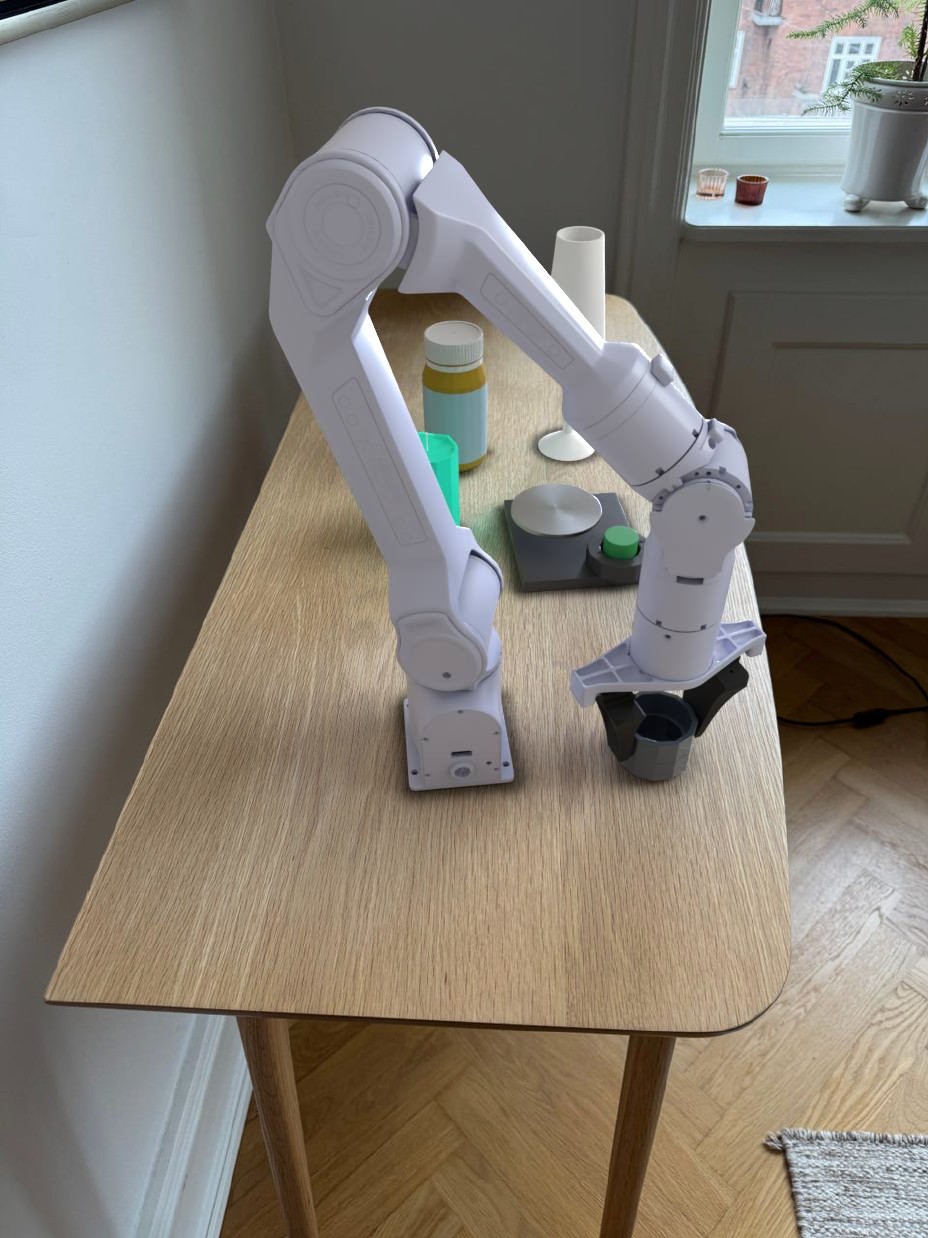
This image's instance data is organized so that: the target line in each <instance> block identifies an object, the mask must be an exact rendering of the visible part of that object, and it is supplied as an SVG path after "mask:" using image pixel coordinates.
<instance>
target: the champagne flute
mask: <svg viewBox="0 0 928 1238" xmlns="http://www.w3.org/2000/svg"><path fill="white" fill-rule="evenodd" d="M605 245H606V244H605V232H604V231H603V230H601V229H599V228H597V227H592V226H585V225H576V226H567V227H563V228H561V229H559V230H558V231H556V237H555V244H554V252H553V258H552V264H551V265H552V267H551V274H550V277H551V278H552V279H553V280H554V282H555V283H556V284H557V285H558V287H559V288H560V289H561V290H562V291H563V293H564V294H565V295H566V296H567V297H568V299H569V300H570V301H571V302H572V303H573V305H574V306H575V307H576V308H577V309H578V311H579V312H580V313H581V314H582V315H583V317H584V318H585V319H586V320H587V322H588V323H589V324H590V325H591V326H592V328H593V329H594V330H595V331H596V332H597V334H598V335H599V336H600V337H601V338H602V340H604V341H606V270H605V269H606V267H605V266H606V265H605V263H606V261H605V260H606V259H605V253H606V252H605V251H606V250H605V249H606V248H605ZM562 419H563V418H562ZM537 447H538V450H539V451H540V453H542V455H544V456H545V457H548V458H550V459H552V460H556V461H563V462H574V461H575V462H576V461H581V460H584V459H586V458H588V457H590V456H591V455H593V454H594V452H596V451H595V450H594V449H593V448H592V447H591V446H590V445H589V444H588V443H587V442H586V441H585V440H584V439H583V438H582V437H581V436H580V435H579V434H578V433H577V432H576V431H575V430H574V429H573V428H572V427H571V426H570V425H569V424H568V423H567V422H566V421H565V420H564V419H563V420H562V430H557V431H554V432H551V433H548V434H546V435H543V437H541V438H540V439H539V441H538V443H537Z"/></svg>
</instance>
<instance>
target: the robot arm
mask: <svg viewBox="0 0 928 1238" xmlns="http://www.w3.org/2000/svg"><path fill="white" fill-rule="evenodd" d="M265 229H266V231H267V234H268V236H269V238H270V240H271V243H272V246H271V262H270V263H271V265H270V283H269V284H270V285H269V303H268V319H269V321H270V325H271V328H272V331H273V333H274V335H275V337H276V340H277V342H278V343H279V345H280V348H281V350H282V352H283V355H284V356H285V359H286V360H287V362H288V364H289V367H290V368H291V370H292V373H293V374H294V377H295V379H296V381H297V383H298V385H299V387H300V389H301V391H302V393H303V395H304V397H305V399H306V401H307V403H308V405H309V408H310V410H311V411H312V414H313V416H314V418H315V420H316V422H317V424H318V426H319V428H320V430H321V432H322V434H323V437H324V438H325V440H326V442H327V444H328V447H329V449H330V451H331V453H332V455H333V457H334V459H335V462H336V463H337V465H338V467H339V469H340V471H341V474H342V476H343V478H344V480H345V482H346V485H347V486H348V488H349V490H350V492H351V494H352V496H353V498H354V500H355V502H356V504H357V506H358V509H359V511H360V512H361V516H362V517H363V519H364V521H365V523H366V525H367V527H368V530H369V531H370V533H371V536H372V537H373V540H374V541H375V544H376V546H377V548H378V551H379V552H380V554H381V556H382V558H383V560H384V563H385V565H386V567H387V574H388V575H387V582H388V584H387V585H388V586H387V587H388V615H389V620H390V622H391V624H392V626H393V628H394V630H395V634H396V644H395V645H396V646H395V654H396V655H395V657H396V660H397V663H398V665H399V667H400V669H401V670H402V671H403V672H404V674H405V682H406V694H407V697H406V698H404V699H403V703H402V704H403V717H404V727H405V728H404V730H405V746H406V759H407V760H406V761H407V775H408V786H409V789H410V790H411V791H413V792H417V791H427V790H428V791H429V790H439V789H449V788H461V787H462V788H463V787H472V786H485V785H493V784H494V785H495V784H505V783H511V782H513V781H514V779H515V771H514V770H515V769H514V765H513V760H512V755H511V749H510V744H509V743H510V742H509V738H508V732H507V727H506V721H505V715H504V711H503V704H502V679H503V677H502V674H503V673H502V672H503V644H502V641H501V638H500V637H499V634H498V632H497V630H496V628H495V626H494V622H495V617H496V613H497V609H498V603H499V601H500V598H501V596H502V593H503V591H504V583H505V582H504V577H503V573H502V570H501V568H500V567H499V565H498V563H497V562H496V561H495V560H494V559H493V558H492V557H491V556H490V555H489V554H488V553H486V552H485V551H484V550H483V549H482V548H481V546H480V545H479V543H478V542H477V540H476V538H475V535H474V533H473V531H472V529H471V528H469V527H467V526H461V525H460V526H456V525H455V522H454V520H453V518H452V515H451V513H450V510H449V508H448V506H447V503H446V501H445V498H444V496H443V493H442V491H441V489H440V486H439V484H438V481H437V479H436V477H435V474H434V472H433V469H432V467H431V465H430V462H429V460H428V457H427V455H426V452H425V450H424V448H423V445H422V443H421V440H420V438H419V436H418V433H417V432H418V431H417V428H416V426H415V423H414V422H413V419H412V415H411V414H410V412H409V409H408V407H407V403H406V402H405V399H404V397H403V394H402V392H401V389H400V387H399V385H398V383H397V380H396V377H395V375H394V373H393V371H392V368H391V365H390V363H389V361H388V359H387V358H388V357H387V356H386V353H385V351H384V349H383V346H382V344H381V342H380V339H379V337H378V335H377V332H376V329H375V327H374V324H373V322H372V320H371V316H370V315H369V307H370V305H371V302H372V300H373V298H374V296H375V294H376V292H377V290H378V288H379V286H380V285H381V284H382V283H383V281H385V280H386V279H387V278H388V277H389V276H390V275H391V274H392V273H393V272H394V270H395V269H396V268H400V269H403V270H405V271H406V272H405V273H404V276H403V277H402V280H401V282H400V284H399V287H398V288H397V292H399V293H401V294H406V295H409V294H411V295H412V294H413V295H414V294H438V293H439V294H441V293H456V294H458V295H461V296H462V297H463V298H464V299H465V300H466V301H468V302H469V303H470V304H471V305H472V306H473V307H474V308H475V309H476V310H477V311H479V313H481V314H482V315H483V316H484V317H485V318H486V319H487V320H488V321H489V322H490V323H492V324H493V325H494V326H495V327H496V328H497V329H498V330H499V331H500V332H501V333H502V334H503V335H505V337H507V338H508V340H510V341H511V342H512V343H513V344H514V345H516V346H517V348H519V349H520V350H521V352H523V353H524V354H525V355H526V356H528V357H529V358H530V359H531V360H532V362H534V363H535V364H536V365H537V366H538V367H539V368H541V369H542V370H543V371H544V373H546V374H547V375H548V376H549V377H550V378H551V379H553V381H554V382H555V383H557V384H558V385H559V386H560V387H561V389H562V398H561V415H562V419H564V420H565V421H566V422H567V423H568V424H569V425H570V426H571V427H572V428H573V431H575V432H577V433H578V434H579V435H580V436H581V437H582V438H583V439H584V440H585V441H586V442H587V443H588V444H589V445H590V446H591V447H592V448H593V449H594V450H595V451H594V452H595V453H596V454H597V455H598V456H599V457H600V458H601V459H602V460H603V461H604V462H605V463H606V464H607V465H608V466H609V467H610V468H611V469H612V470H613V471H614V472H615V473H616V474H617V475H618V476H619V477H620V478H621V479H622V480H623V481H624V482H625V483H626V484H627V485H628V486H629V487H630V488H631V489H632V490H633V491H634V492H636V493H637V494H638V495H639V496H641V497H642V498H644V499H645V500H646V501H648V502H649V503H651V511H650V512H649V515H648V516H649V517H648V519H649V524H650V528H649V529H650V530H649V533H648V535H647V537H646V538H647V539H646V542H645V544H644V550H643V558H642V565H641V572H640V579H639V583H638V586H637V587H638V588H637V594H636V601H635V607H634V614H633V621H632V624H631V635H629V636H628V637H627V638H625V639H624V640H622V641H620V642H619V643H618V644H616V645H615V646H613V647H612V648H610V649H608V650H607V651H605V652H604V653H603V654H601V655H599V657H597V658H595V659H594V660H592V661H590V662H588V663H587V664H584V665H583V666H579V667H577V668H574V669H571V672H570V680H569V681H570V683H569V690H570V693H571V694H572V695H573V697H574V699H575V700H576V701H577V703H578V704H579V706H580V707H581V708H582V709H584V708H589V707H591V706H593V705H595V704H597V708H598V709H599V712H600V715H601V718H602V721H603V725H604V730H605V733H606V736H605V737H606V741H607V743H606V744H607V746H608V748H609V749H610V751H611V752H612V754H613V755H614V756H615V757H614V758H616V760H617V762H619V763H620V762H622V761H626V760H628V758H629V757H630V754H631V750H632V745H633V739H634V736H635V733H636V731H637V729H638V727H639V725H640V724H641V722H642V721H643V720H644V719H645V718H646V717H647V716H646V714H645V713H644V712H643V710H642V709H641V708H640V706H639V705H638V703H637V702H636V701H635V697H636V695H635V694H636V693H635V692H639V691H665V692H676V691H677V692H678V691H680V692H681V691H682V697H681V698H682V699H683V700H685V701H686V702H687V703H688V704H690V705H691V706H692V707H693V710H694V712H695V715H696V717H697V720H698V725H697V729H696V733H695V738H694V739H697V738H700V737H702V735H703V734H704V733H705V731H706V730H707V728H708V727H709V725H710V724H711V722H712V721H713V720H714V718H715V717H716V715H717V714H718V713H719V712H720V710H721V709H722V708H723V706H725V704H726V703H727V702H728V701H729V700H731V699H732V698H733V697H734V696H735V695H736V694H738V693H739V692H741V691H742V690H744V689H745V688H747V687H748V684H749V679H750V674H749V671H748V670H747V669H746V668H745V666H744V665H743V664H742V663H741V662H740V661H741V657H742V656H741V655H743V654H745V655H746V656H747V657H749V658H754V657H757V656H761V655H762V654H763V650H764V647H765V643H766V640H767V634H766V633H765V632H764V630H763V629H761V627H759V625H758V624H757V623H756V622H755V621H754V620H753V619H752V618H747V619H744V620H738V621H730V622H722V619H723V614H724V611H725V607H726V602H727V598H728V594H729V588H730V584H731V580H732V575H733V570H734V566H735V562H736V551H735V550H736V548H737V547H738V546H740V545H741V544H742V543H743V542H744V541H745V540H746V539H747V538H748V537H749V535H750V534H751V532H752V530H753V528H754V526H755V524H756V519H755V518H753V510H754V504H753V495H752V486H751V479H750V471H749V463H748V458H747V457H748V456H747V455H746V451H745V449H744V446H743V444H742V442H741V440H740V439H739V438H738V437H737V432H736V430H735V428H733V427H731V426H729V425H728V424H726V423H723V422H721V421H718V420H717V419H716V418H715V417H714V418H711V419H706V418H705V417H704V416H703V415H702V414H701V413H700V412H699V411H698V410H697V409H696V407H694V405H693V404H692V403H691V402H690V401H689V400H688V399H687V397H686V396H685V395H684V394H683V393H682V392H681V391H680V390H679V389H678V388H677V387H676V385H675V384H674V383H673V382H674V381H675V372H674V371H675V368H674V365H672V363H671V362H670V361H669V360H667V358H666V357H665V356H664V355H663V354H662V353H658V354H657V355H656V356H654V357H653V358H652V359H651V357H649V355H647V354H646V352H645V351H644V350H643V349H642V348H641V347H640V345H639V344H637V343H633V342H632V343H631V342H621V341H606V340H605V341H604V340H602V338H601V337H600V336H599V335H598V334H597V332H596V331H595V330H594V329H593V328H592V326H591V325H590V324H589V323H588V322H587V320H586V319H585V318H584V317H583V315H582V314H581V313H580V312H579V311H578V309H577V308H576V307H575V306H574V305H573V303H572V302H571V301H570V300H569V299H568V297H567V296H566V295H565V294H564V293H563V291H562V290H561V289H560V288H559V287H558V285H557V284H556V283H555V282H554V280H553V279H552V278H551V275H550V274H549V273H548V272H547V271H546V269H545V268H544V267H543V266H542V265H541V263H540V262H539V260H537V259H536V257H535V256H534V255H533V254H532V253H531V251H530V250H529V249H528V248H527V246H526V245H525V243H523V241H521V239H520V238H519V237H518V235H516V233H515V232H514V231H513V230H512V229H511V227H510V226H509V225H508V224H507V223H506V221H505V220H504V219H503V217H501V215H500V214H499V213H498V212H497V210H496V209H495V208H494V206H493V205H492V204H491V203H490V201H489V200H488V199H487V198H486V196H485V195H484V194H483V192H482V191H481V189H480V188H479V186H478V185H477V183H476V182H475V181H474V179H473V178H472V177H471V176H470V174H469V172H468V171H467V170H466V169H465V167H464V166H463V164H462V163H460V162H459V161H458V160H457V159H456V158H454V157H453V156H452V155H451V154H449V153H448V152H447V151H445V150H444V149H442V150H441V152H440V153H439V154H438V150H437V148H436V146H435V144H434V142H433V139H432V138H431V136H430V135H429V133H428V132H427V130H426V129H425V128H424V127H423V126H422V125H421V124H420V123H419V122H418V121H417V120H416V119H414V118H413V117H412V116H410V115H409V114H407V113H405V112H404V111H401V110H398V109H395V108H391V107H387V106H371V107H366V108H364V109H360V110H358V111H356V112H354V113H353V114H351V115H350V116H349V117H347V118H346V119H344V121H343V122H342V123H341V125H339V127H338V128H337V130H336V131H335V133H334V134H333V136H331V138H329V139H328V140H327V141H326V143H324V144H323V145H322V146H321V147H320V148H319V149H318V150H317V152H315V153H313V154H312V155H310V156H309V157H307V158H306V159H304V160H303V161H302V162H300V163H299V164H298V165H297V166H296V167H295V169H294V170H293V171H291V174H290V175H289V176H288V179H287V180H286V182H285V184H284V187H283V188H282V190H281V192H280V194H279V196H278V198H277V200H276V202H275V204H274V206H273V208H272V210H271V212H270V214H269V216H268V218H267V220H266V223H265Z"/></svg>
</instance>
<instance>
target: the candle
mask: <svg viewBox="0 0 928 1238" xmlns="http://www.w3.org/2000/svg"><path fill="white" fill-rule="evenodd" d="M417 433H418V436H419V438H420V440H421V443H422V445H423V448H424V450H425V452H426V455H427V457H428V460H429V462H430V465H431V467H432V469H433V472H434V474H435V477H436V479H437V481H438V484H439V486H440V489H441V491H442V493H443V496H444V498H445V501H446V503H447V506H448V508H449V510H450V513H451V515H452V518H453V520H454V522H455V525H456V526H460V527H461V515H460V513H461V509H460V471H459V466H458V446H457V444H456V443H455V442H454V441H453V439H452V438H451V437H450V436H449V435H443V434H432V433H427V432H426V433H425V431H417Z"/></svg>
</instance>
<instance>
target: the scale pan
mask: <svg viewBox="0 0 928 1238" xmlns="http://www.w3.org/2000/svg"><path fill="white" fill-rule="evenodd" d="M592 494H593V493H591V492H589V491H587V490H585V489H584V488H581V487H579V486H576V485H575V486H574V485H570V484H564V483H543V484H537V485H534V486H531V487H528V488H526V489H524V490H522V491H520V492H519V493H518V494H517V495H516V496H515V497H514V498H513V499H512V500H513V502H512V505H511V515H512V518H513V520H514V521H515V523H516V524H517V525H518V526H519V527H520V528H522V529H523V530H525V531H527V532H529V533H531V534H534V535H537V536H540V537H545V538H554V539H563V538H572V537H576V536H580V535H583V534H585V533H587V532H589V531H591V530H592V529H593V528H595V527H596V526H597V524H598V523H599V521H600V519H601V515H602V508H601V505H600V503H599V501H598V500H597V498H596V497H594V496H593V495H592Z"/></svg>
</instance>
